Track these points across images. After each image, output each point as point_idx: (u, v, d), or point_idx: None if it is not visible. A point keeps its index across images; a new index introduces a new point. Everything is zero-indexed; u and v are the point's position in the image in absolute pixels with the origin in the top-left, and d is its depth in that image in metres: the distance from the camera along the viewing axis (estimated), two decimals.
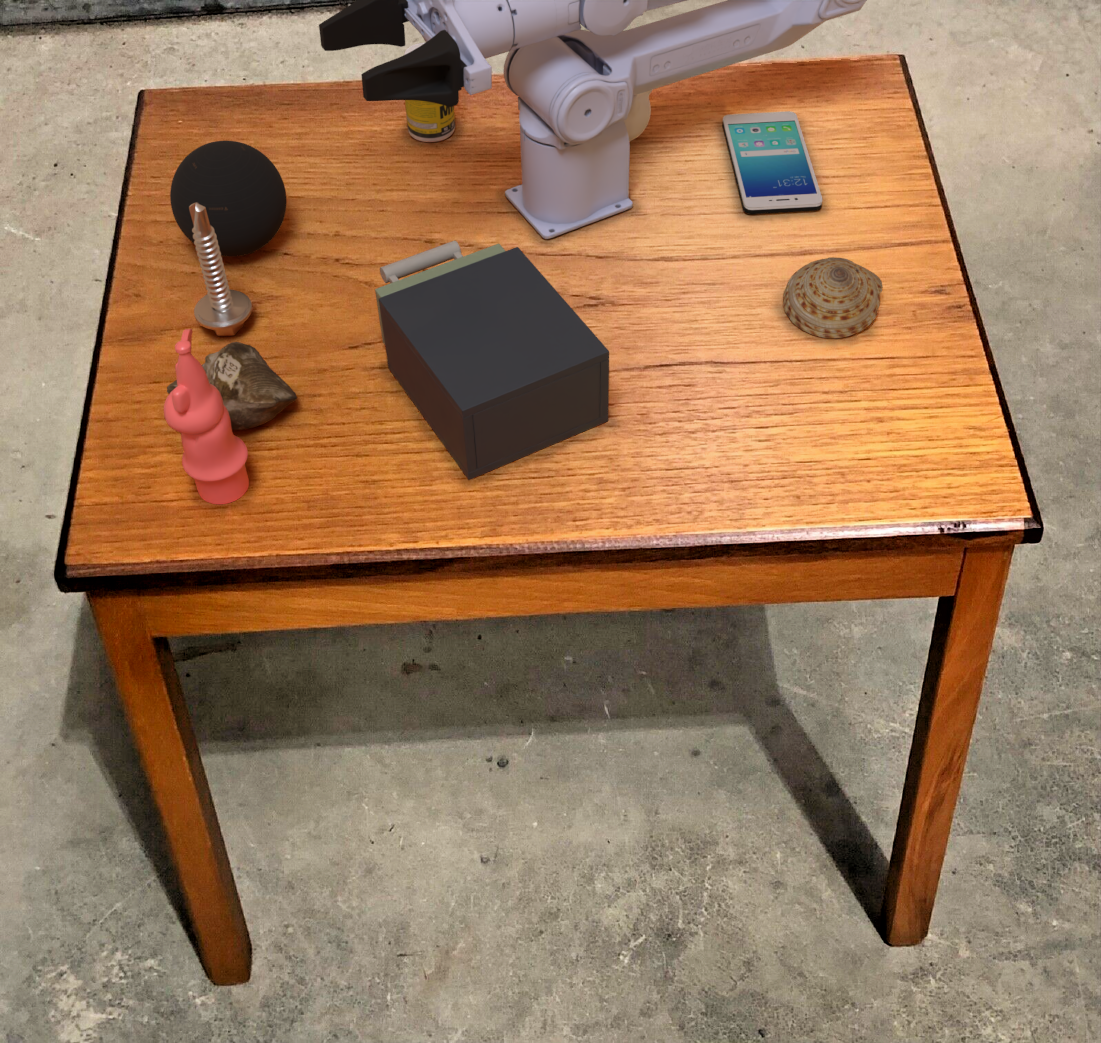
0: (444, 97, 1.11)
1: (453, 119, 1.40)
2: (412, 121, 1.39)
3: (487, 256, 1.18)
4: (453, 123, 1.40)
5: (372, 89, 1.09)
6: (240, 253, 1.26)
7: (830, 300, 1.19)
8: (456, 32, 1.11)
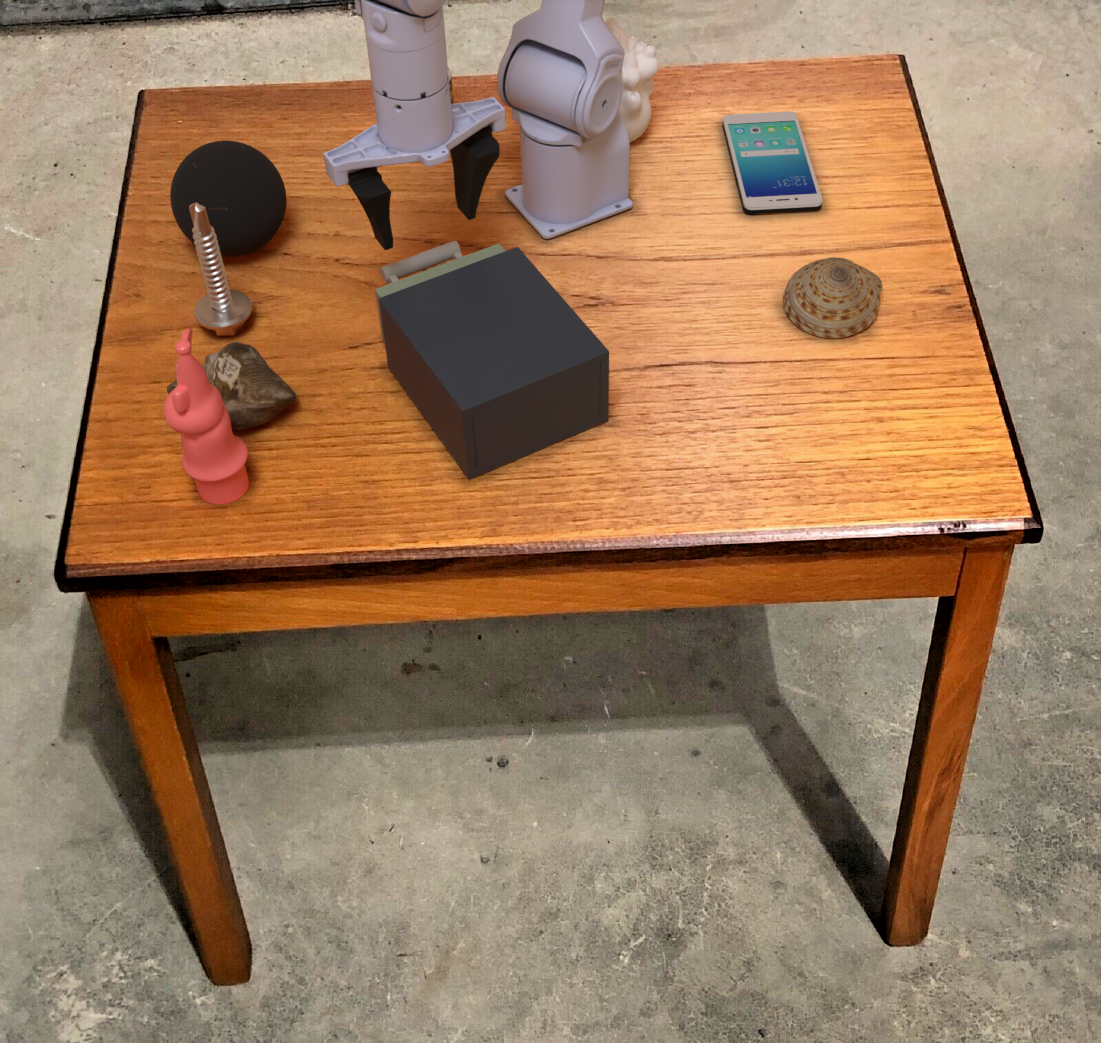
0: None
1: None
2: None
3: (487, 256, 1.18)
4: None
5: None
6: (240, 253, 1.26)
7: (830, 300, 1.19)
8: None
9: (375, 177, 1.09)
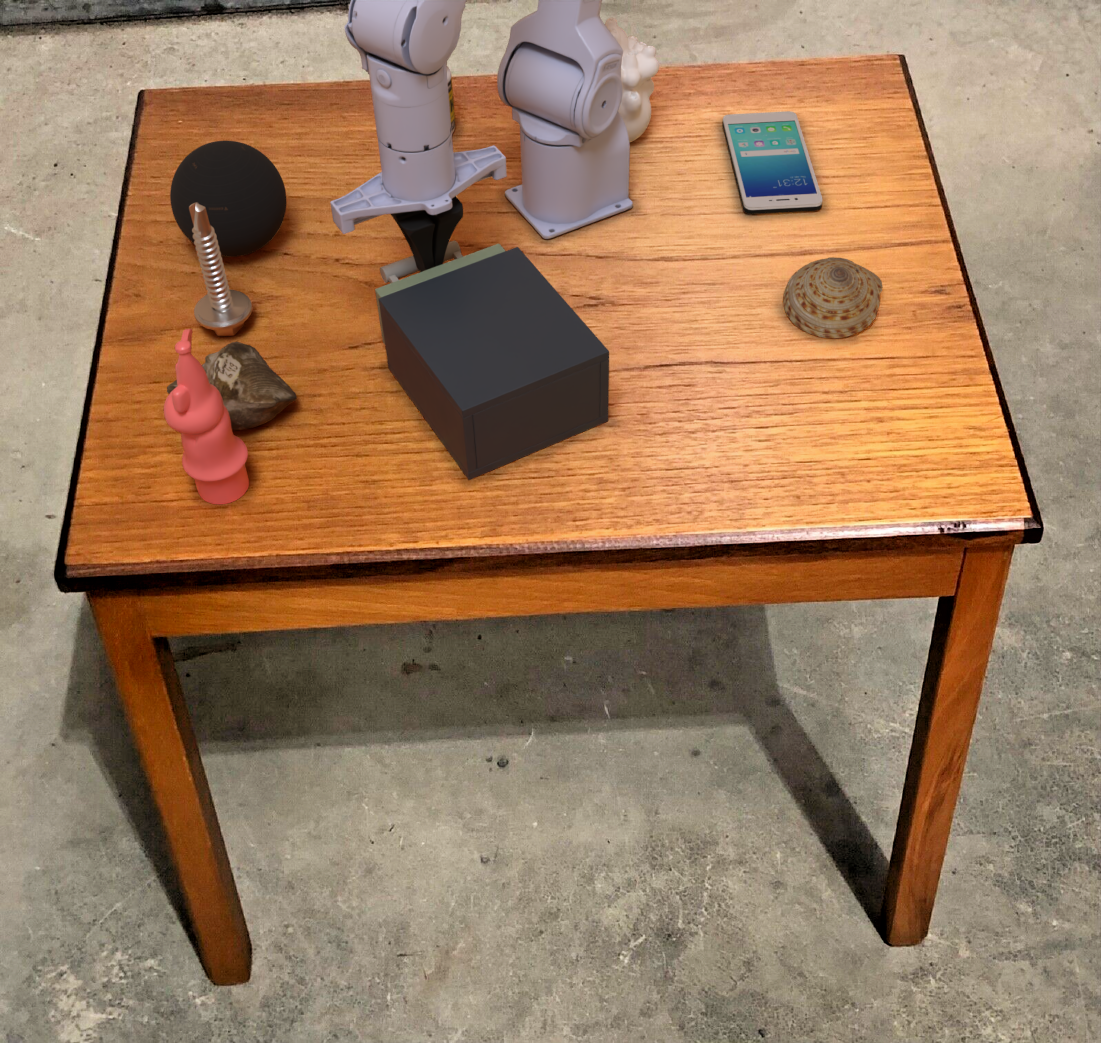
0: None
1: (453, 119, 1.40)
2: None
3: (487, 256, 1.18)
4: (453, 122, 1.40)
5: None
6: (240, 253, 1.26)
7: (830, 300, 1.19)
8: None
9: (419, 210, 1.14)
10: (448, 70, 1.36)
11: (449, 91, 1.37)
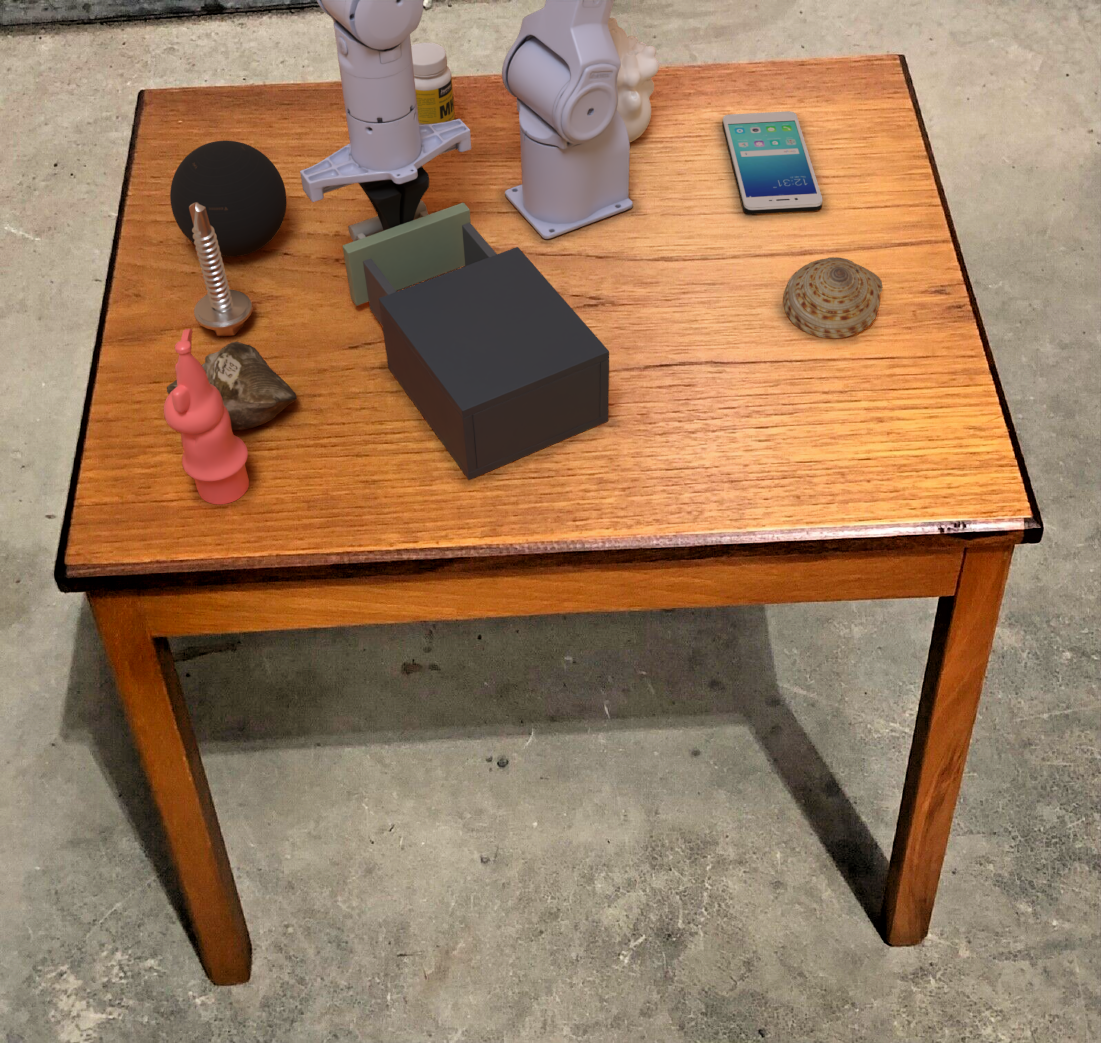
0: None
1: (453, 119, 1.40)
2: None
3: (452, 214, 1.22)
4: None
5: None
6: (240, 253, 1.26)
7: (830, 300, 1.19)
8: None
9: (386, 180, 1.18)
10: (448, 70, 1.36)
11: (449, 91, 1.37)
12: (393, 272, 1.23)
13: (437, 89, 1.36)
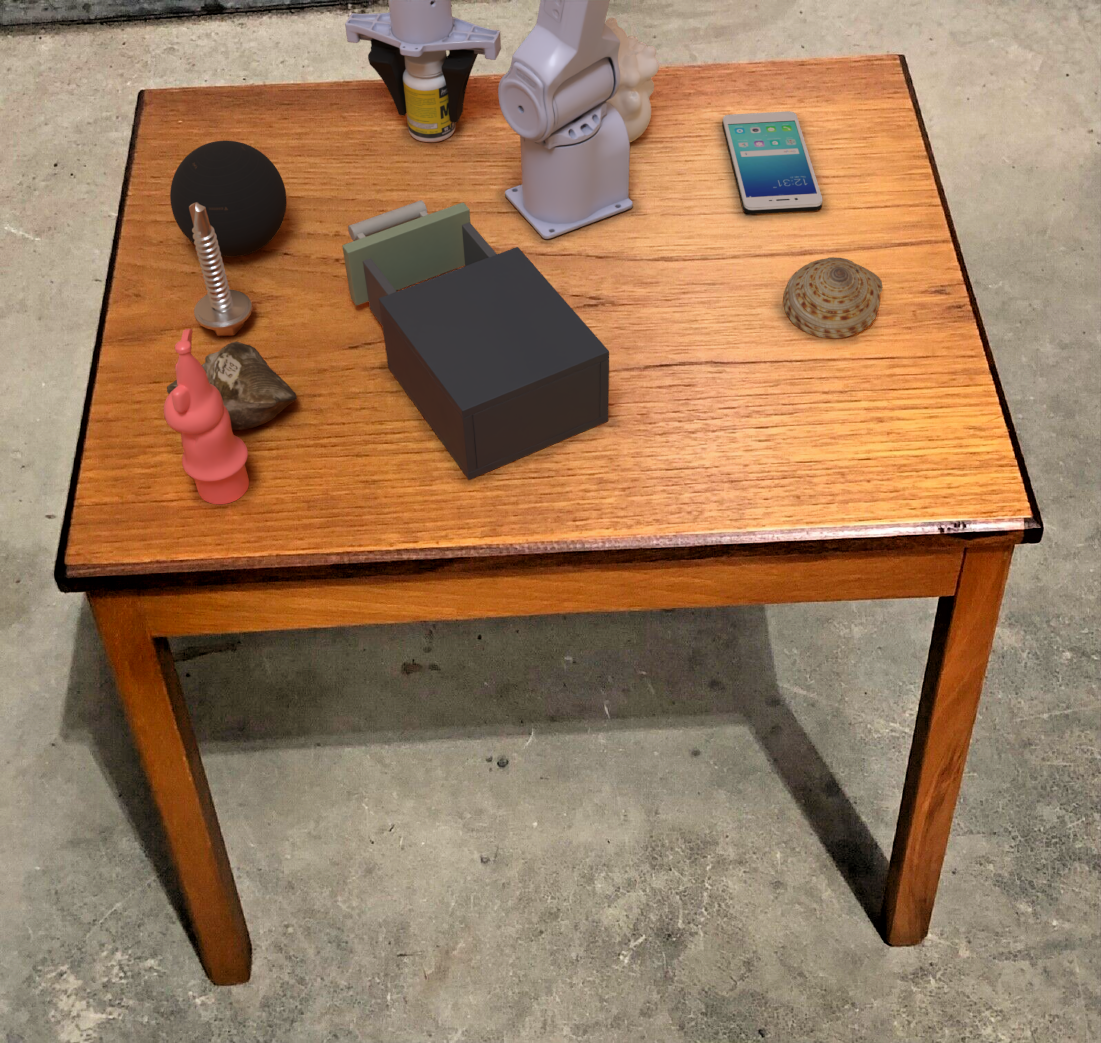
0: (476, 56, 1.36)
1: None
2: (412, 121, 1.39)
3: (451, 214, 1.22)
4: (453, 123, 1.40)
5: (460, 112, 1.39)
6: (240, 253, 1.26)
7: (830, 300, 1.19)
8: None
9: (390, 50, 1.34)
10: None
11: None
12: (393, 272, 1.23)
13: (438, 89, 1.36)
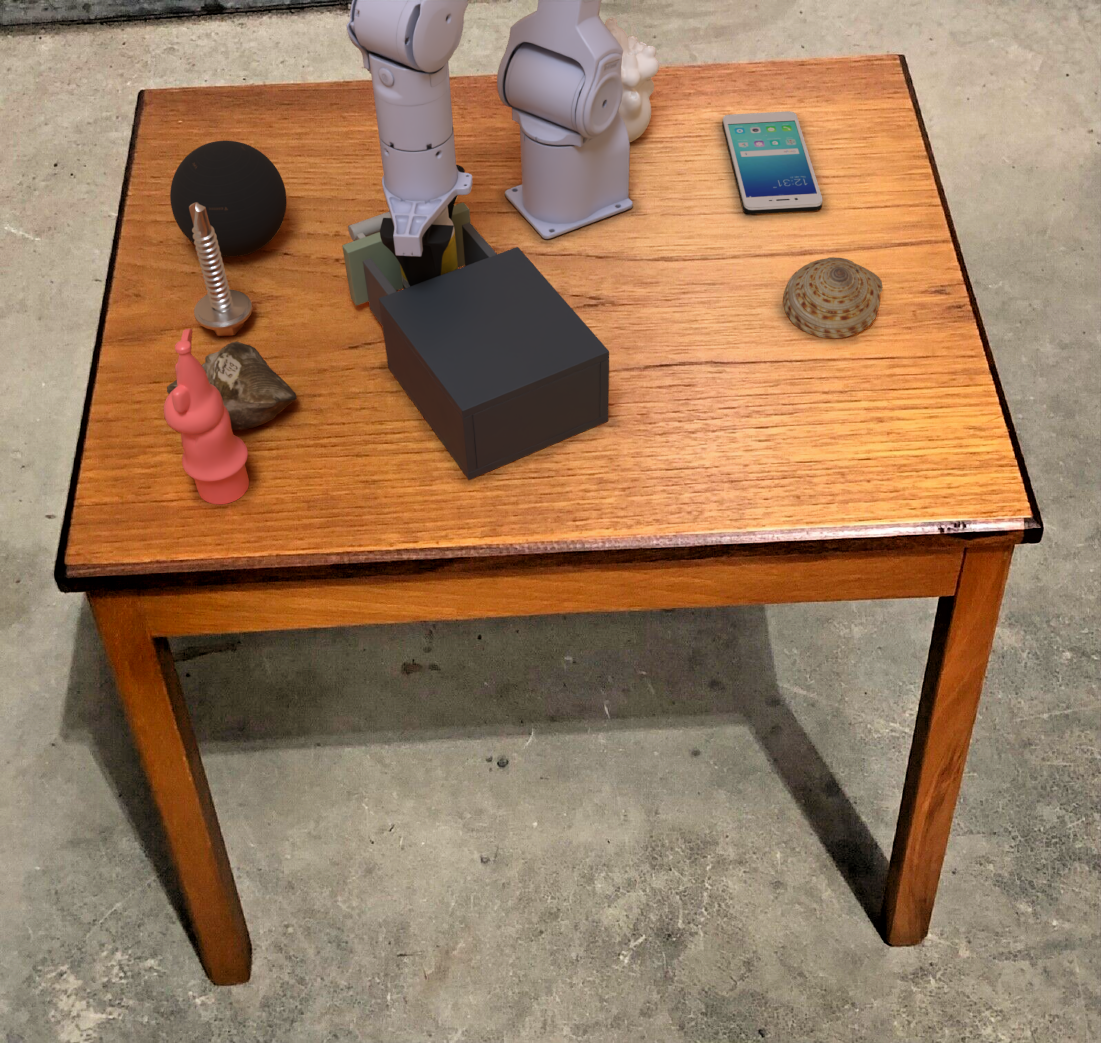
0: None
1: None
2: None
3: None
4: None
5: None
6: (240, 253, 1.26)
7: (830, 300, 1.19)
8: None
9: (430, 224, 1.12)
10: None
11: None
12: (393, 272, 1.23)
13: None
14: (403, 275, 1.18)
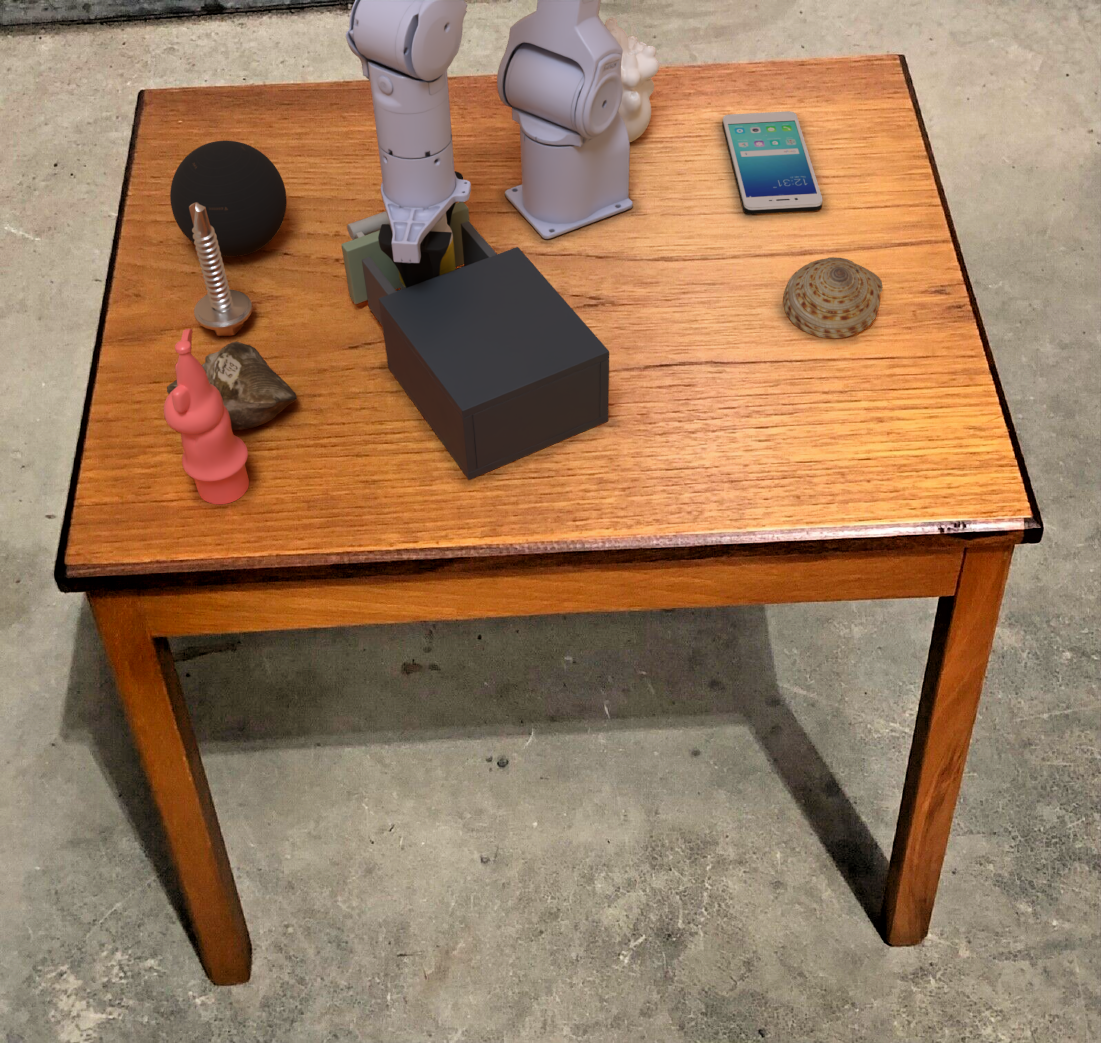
0: None
1: None
2: None
3: None
4: None
5: None
6: (240, 253, 1.26)
7: (830, 300, 1.19)
8: None
9: (429, 231, 1.13)
10: None
11: None
12: (392, 271, 1.23)
13: None
14: (401, 281, 1.19)
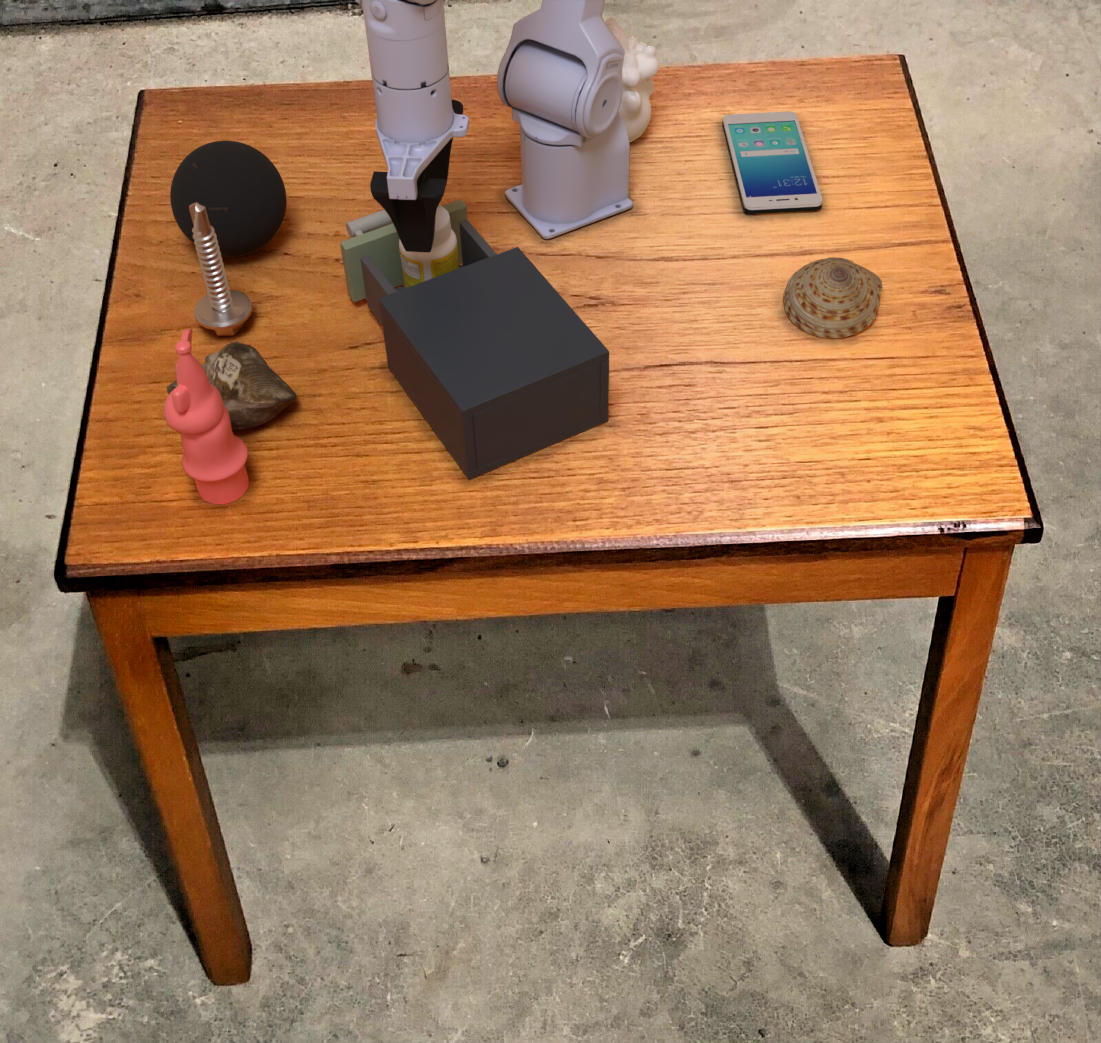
0: None
1: None
2: None
3: (449, 211, 1.22)
4: None
5: None
6: (240, 253, 1.26)
7: (830, 300, 1.19)
8: None
9: (423, 177, 1.07)
10: None
11: None
12: (391, 269, 1.23)
13: None
14: (406, 286, 1.19)
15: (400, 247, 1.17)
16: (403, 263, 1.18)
